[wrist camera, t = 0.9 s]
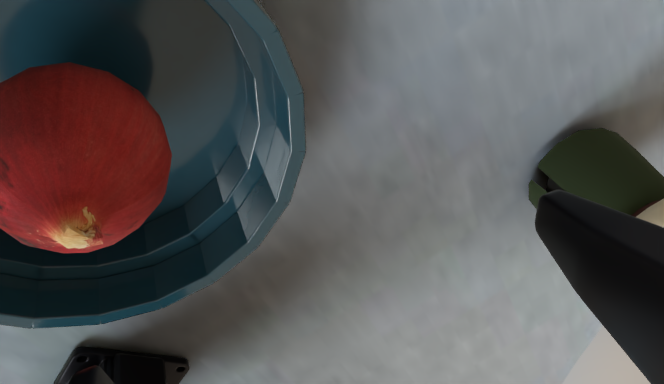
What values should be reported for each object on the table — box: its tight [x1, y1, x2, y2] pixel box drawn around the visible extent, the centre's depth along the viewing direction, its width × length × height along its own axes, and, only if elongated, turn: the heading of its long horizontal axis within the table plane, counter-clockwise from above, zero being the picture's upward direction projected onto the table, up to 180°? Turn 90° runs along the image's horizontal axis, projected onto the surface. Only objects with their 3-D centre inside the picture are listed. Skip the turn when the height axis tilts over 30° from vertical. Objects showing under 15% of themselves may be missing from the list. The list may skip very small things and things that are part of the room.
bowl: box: [0, 0, 306, 329], centre depth 18 cm, size 15×15×4 cm
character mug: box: [529, 128, 664, 227], centre depth 27 cm, size 11×7×13 cm, turn 169°
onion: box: [0, 62, 172, 253], centre depth 17 cm, size 6×6×8 cm
